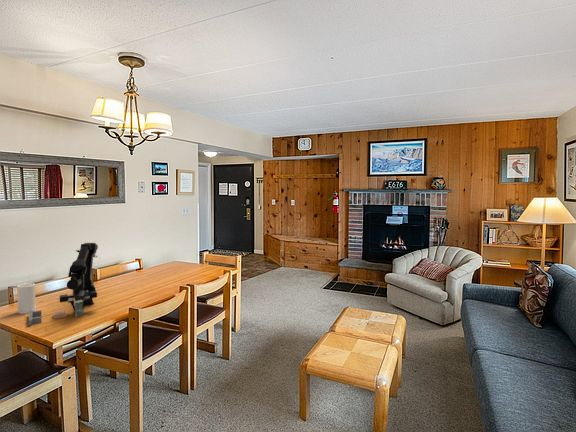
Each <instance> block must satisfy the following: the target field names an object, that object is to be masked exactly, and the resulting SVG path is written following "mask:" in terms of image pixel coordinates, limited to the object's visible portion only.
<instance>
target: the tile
mask: <svg viewBox="0 0 576 432" xmlns="http://www.w3.org/2000/svg"><path fill="white" fill-rule="evenodd" d="M52 315H53V316H52V317H53V319H60V318H66V317H67V311H66V309H63V310H57V311H53V312H52Z"/></svg>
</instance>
